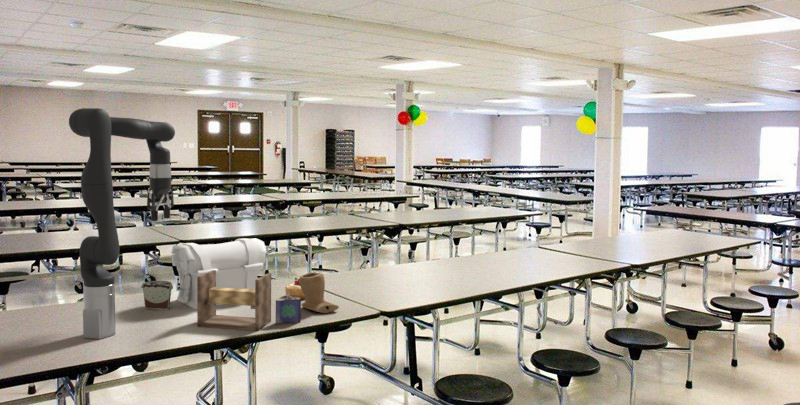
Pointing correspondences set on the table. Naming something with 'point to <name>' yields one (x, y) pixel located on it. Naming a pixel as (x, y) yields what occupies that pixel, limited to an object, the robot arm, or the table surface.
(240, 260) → the chest
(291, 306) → the flask
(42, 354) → the table surface
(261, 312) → the shelf rack
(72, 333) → the table surface
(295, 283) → the pastry
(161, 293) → the food container
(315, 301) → the tan ankle boot
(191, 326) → the table surface
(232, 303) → the shelf board
